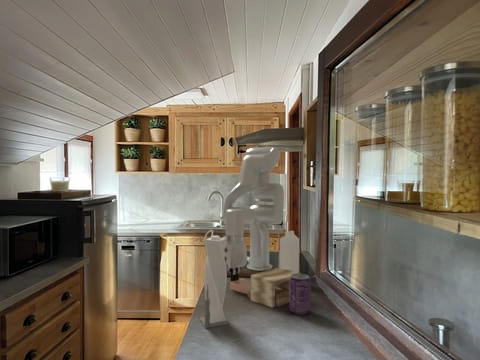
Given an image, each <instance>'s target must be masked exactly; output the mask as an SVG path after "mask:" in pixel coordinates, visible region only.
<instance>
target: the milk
mask: <svg viewBox="0 0 480 360" xmlns="http://www.w3.org/2000/svg"><path fill="white" fill-rule="evenodd" d="M279 268H282V269H286V270H291V271H295V272H299V273H300V238H299V237H298V236H297V235H295V231H294V230H288V231H285V232H284V235H283V236H281V237H280V238H279Z"/></svg>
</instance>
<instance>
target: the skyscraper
mask: <svg viewBox="0 0 480 360" xmlns="http://www.w3.org/2000/svg"><path fill="white" fill-rule="evenodd" d="M210 232H211V235H210V237H209V238H207V235H208V234H209V233H210ZM226 240H227V237H226V235H224V236H222V237H220V235H214V230H213V229H210V230H208V231H207V232H206V233H205V235H204V238H203V242H204V247H205V253H206V257H205V261H204V263H205V264H204V270H203V271H204V272H203V273H204V275H203V276H204V277H203V278H204V282H203V283H204V296H205V298H204V303H205V304H204V307H205V308H204V309H205V310H204V316H203V317H201V316H200V317H199V318H198V319H199V321H200V322H201V324H202V325H203V327H204V328H205V329H208V328H213V327H214V328H215V327H221V326H227V325H228V322H227V321H226V317H225V314H224V311H223V308H224V307H223V306H224V301H225V296H226V290H227V279H228V278H227V276H228V275H227V271H226V263H225V258H224V254H223V252H224V248H225V244H226Z"/></svg>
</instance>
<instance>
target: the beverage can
mask: <svg viewBox="0 0 480 360" xmlns="http://www.w3.org/2000/svg"><path fill="white" fill-rule="evenodd" d="M288 304H289V305H288V306H289V307H288V309H289V311H290V312H291V313H294V314H296V315H301V316H303V315H307V314H308V313H311V311H312V282H311V279H310V275H309V274H304V273H300V274H292V275H291V279H290V284H289V303H288Z"/></svg>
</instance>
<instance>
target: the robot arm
mask: <svg viewBox="0 0 480 360" xmlns="http://www.w3.org/2000/svg"><path fill="white" fill-rule="evenodd" d="M280 159H281V152H280V150H279V148H278V147H276V146H264V147H263V146H261V147H259V146H257V147H256V146H255V147H250V148H247V150H246V151H245V156H244V157H242V161H241V166H240V170H239V171H240V172H239V176H238V180H237V184H236V185H235V187H233V188H232V189H231V190H230V192H229V193H228V194H227V195H226V197H225V199H224V203H223V209H222V219H223V222H224V223H225V236H226V237H227V240H226V244H225V248H224V252H223V254H224V258H225V263H226V272H228V274H230V276H229V277H230V279H229V280H230V282H233V281H236V280H239V279H240V278H239V274H240V273H241V270H242V269H243V268H244V267H245V266H246V268H247V269H248V270H252V271H258V272H260V271H261V272H263V271H267V270H270V269H273V264H271V263H270V231H269V229H268V228H267V226H266V225H280V224H282V223H283V220H284V214H285V213H284V212H285V211H284V207H285V191H284V186H283V185H282V184H281V183H280V182H279V183H278V182H271V181H270V180H271V179H270V173H271V172H272V171H273V170H274V169H275V167H276V166H277V165H278V164H279V162H280ZM249 193H252V195H251V196H252V199H253V200H254V201H255V202H258V203H259V202H262V203H263V202H264V203H273V204H261V203H259V204H258V203H257V204H252V205H251V206H250V207H242V206H240V207H239V206H234V204H235V203H236V201H237V200H238V199H240V198H241V197H243V196H245V195H247V194H249ZM244 226H249V256H248V254H247V252H248V251H247V246H246V241H244V240H245V239H244V238H245V237H244V236H245V234H244V232H245V231H244V230H245V228H244ZM247 262H248V263H247ZM230 282H229V283H230Z"/></svg>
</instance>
